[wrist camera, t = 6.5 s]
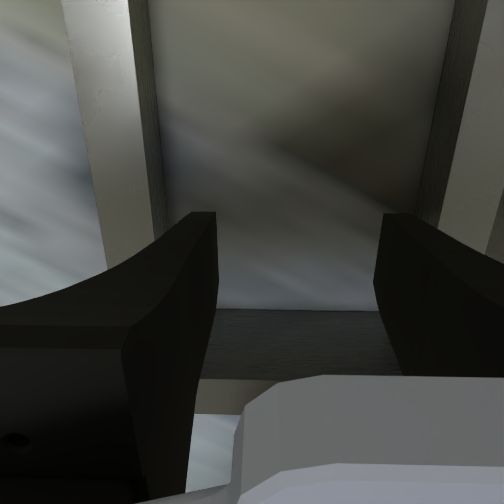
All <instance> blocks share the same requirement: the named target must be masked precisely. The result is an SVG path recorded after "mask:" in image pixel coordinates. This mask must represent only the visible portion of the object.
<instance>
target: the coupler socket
mask: <svg viewBox="0 0 504 504" xmlns="http://www.w3.org/2000/svg"><path fill="white" fill-rule="evenodd" d="M61 2H62V8H63V13H64V19H65V25H66V31H67V36H68V42H69V48H70V54H71V60H72V65H73V71H74V77H75V83H76V88H77V94H78V100H79V106H80V111H81V117H82V123H83V129H84V135H85V140H86V146H87V152H88V158H89V163H90V169H91V175H92V181H93V186H94V192H95V198H96V204H97V210H98V215H99V221H100V227H101V233H102V238H103V244H104V250H105V256H106V261H107V267H108V270H109V269H111V268H112V267H114V266H116V265H118V264H120V263H122V262H123V261H125V260H127V259H129V258H130V257H132V256H133V255H135V254H136V253H138V252H139V251H141V250H142V249H144V248H145V247H147V246H148V245H149V244H151V243H152V242H154V241H155V240H157V239H158V238H159V237H161V236H162V235H163V234H164V233H166V232H167V231H168V230H169V227H168V217H167V206H166V195H165V185H164V174H163V163H162V153H161V142H160V131H159V121H158V110H157V99H156V89H155V78H154V67H153V57H152V46H151V35H150V25H149V14H148V3H147V0H61ZM503 189H504V0H456V3H455V8H454V13H453V18H452V24H451V29H450V34H449V39H448V45H447V50H446V55H445V60H444V65H443V71H442V76H441V81H440V86H439V91H438V97H437V102H436V107H435V112H434V118H433V123H432V128H431V133H430V138H429V144H428V149H427V154H426V159H425V165H424V170H423V175H422V180H421V185H420V191H419V196H418V201H417V206H416V212H415V217H417V218H419V219H421V220H423V221H425V222H427V223H428V224H430V225H432V226H434V227H435V228H437V229H439V230H441V231H442V232H444V233H446V234H447V235H449V236H451V237H453V238H454V239H456V240H458V241H460V242H461V243H463V244H465V245H467V246H469V247H471V248H472V249H474V250H476V251H478V252H480V253H482V254H484V255H485V252H486V248H487V245H488V241H489V238H490V234H491V231H492V227H493V224H494V220H495V217H496V213H497V210H498V206H499V203H500V199H501V196H502V192H503ZM319 375H364V376H403V374H402V371H401V369H400V366H399V364H398V361H397V358H396V356H395V353H394V351H393V348H392V346H391V343H390V340H389V338H388V335H387V332H386V330H385V327H384V324H383V322H382V319H381V316H380V313H379V312H340V311H283V310H227V309H216V313H215V317H214V322H213V326H212V330H211V334H210V338H209V342H208V347H207V351H206V355H205V359H204V363H203V367H202V371H201V375H200V380H199V385H198V390H197V395H196V403H195V411H194V414H230V415H242V412H243V410H244V407H245V405H247V404H248V403H249V402H251V401H252V400H254V399H255V398H257V397H258V396H260V395H261V394H262V393H264V392H265V391H267V390H268V389H270V388H271V387H272V386H274V385H275V384H277V383H280V382H285V381H291V380H296V379H302V378H308V377H313V376H319Z"/></svg>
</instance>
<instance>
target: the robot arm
mask: <svg viewBox="0 0 504 504" xmlns="http://www.w3.org/2000/svg"><path fill="white" fill-rule="evenodd" d="M218 284H219V272H218V248H217V225H216V212H191V213H189V214H188V215H186V216H185V217H184V218H183V219H182V220H180V221H179V222H178V223H177V224H176V225H174V226H173V227H172V228H171V229H169V230H168V231H167V232H166V233H164V234H163V235H162V236H161V237H159V238H158V239H157V240H155V241H154V242H152V243H151V244H149V245H148V246H147V247H145V248H144V249H142V250H141V251H139V252H138V253H136V254H135V255H133V256H132V257H130V258H129V259H127V260H125V261H123V262H122V263H120V264H118V265H116V266H114V267H112V268H111V269H109V270H107V271H105V272H103V273H101V274H99V275H96V276H94V277H91V278H89V279H87V280H84V281H82V282H79V283H77V284H75V285H72V286H70V287H67V288H65V289H62V290H59V291H56V292H53V293H50V294H47V295H44V296H40V297H37V298H34V299H30V300H27V301H23V302H19V303H15V304H11V305H7V306H2V307H0V504H504V264H502V263H500V262H498V261H496V260H494V259H492V258H490V257H488V256H486V255H484V254H482V253H480V252H478V251H476V250H474V249H472V248H471V247H469V246H467V245H465V244H463V243H461V242H460V241H458V240H456V239H454V238H453V237H451V236H449V235H447V234H446V233H444V232H442V231H441V230H439V229H437V228H435V227H434V226H432V225H430V224H428V223H427V222H425V221H423V220H421V219H419V218H417V217H415V216H413V215H410V214H390V213H383V220H382V226H381V233H380V240H379V246H378V253H377V260H376V266H375V273H374V280H373V285H374V290H375V295H376V300H377V304H378V309H379V313H380V316H381V319H382V322H383V324H384V327H385V330H386V332H387V335H388V338H389V340H390V343H391V346H392V348H393V351H394V353H395V356H396V358H397V361H398V364H399V366H400V369H401V371H402V374H403V376H364V375H319V376H313V377H308V378H302V379H296V380H291V381H285V382H280V383H277V384H275V385H274V386H272V387H271V388H270V389H268V390H267V391H265V392H264V393H262V394H261V395H260V396H258V397H257V398H255V399H254V400H252V401H251V402H249V403H248V404H247V405H245V407H244V410H243V412H242V415H241V418H240V421H239V423H238V426H237V429H236V431H235V434H234V446H233V460H232V474H231V482H230V483H229V484H227V485H222V486H217V487H212V488H207V489H203V490H198V491H193V492H188V493H185V489H186V479H187V470H188V461H189V452H190V444H191V435H192V427H193V419H194V411H195V403H196V395H197V390H198V385H199V380H200V375H201V371H202V367H203V363H204V359H205V355H206V351H207V347H208V342H209V338H210V334H211V330H212V326H213V322H214V317H215V313H216V305H217V295H218Z"/></svg>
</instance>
